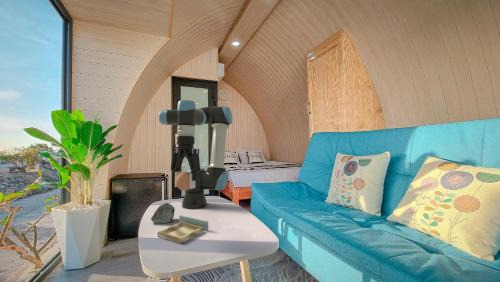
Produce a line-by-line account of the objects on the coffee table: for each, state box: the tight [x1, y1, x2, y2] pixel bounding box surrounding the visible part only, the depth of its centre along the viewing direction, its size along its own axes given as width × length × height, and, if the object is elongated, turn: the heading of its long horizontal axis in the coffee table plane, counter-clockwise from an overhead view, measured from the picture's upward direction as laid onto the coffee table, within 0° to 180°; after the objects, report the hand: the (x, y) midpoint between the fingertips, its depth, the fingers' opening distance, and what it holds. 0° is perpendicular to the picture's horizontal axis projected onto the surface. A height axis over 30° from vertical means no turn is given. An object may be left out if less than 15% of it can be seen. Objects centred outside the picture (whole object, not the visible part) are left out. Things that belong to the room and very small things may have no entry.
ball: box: [174, 171, 190, 191], centre depth 96 cm, size 8×8×8 cm
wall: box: [178, 214, 209, 232], centre depth 102 cm, size 1×17×4 cm, turn 62°
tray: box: [157, 222, 204, 245], centre depth 94 cm, size 13×13×2 cm
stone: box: [150, 202, 176, 224], centre depth 110 cm, size 10×10×10 cm
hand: (184, 187), depth 96 cm, fingers closed on ball, 8 cm apart
